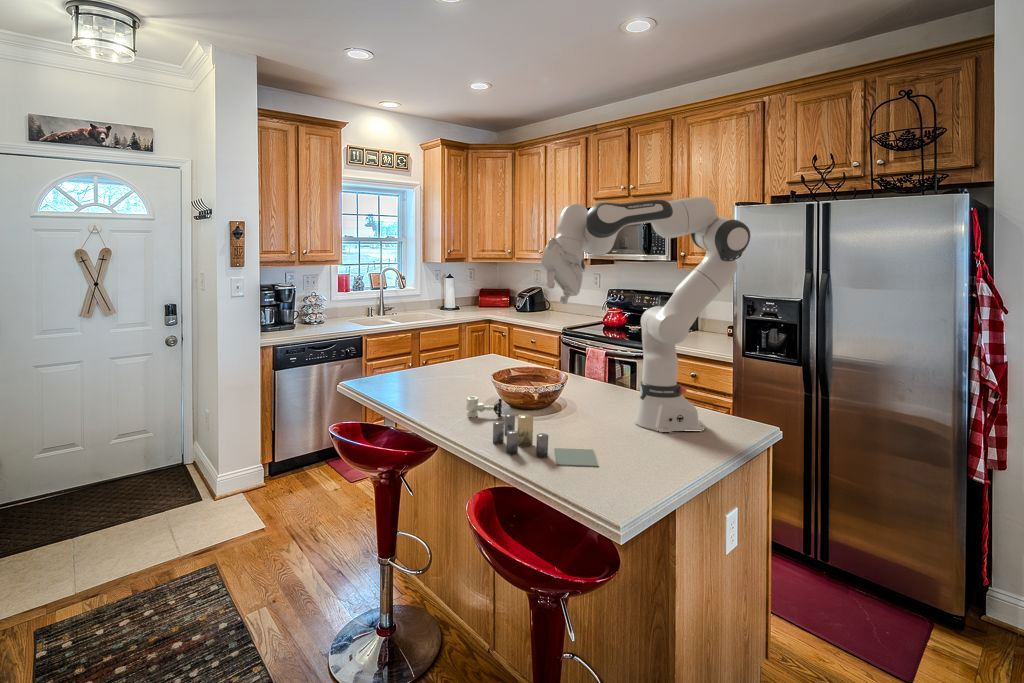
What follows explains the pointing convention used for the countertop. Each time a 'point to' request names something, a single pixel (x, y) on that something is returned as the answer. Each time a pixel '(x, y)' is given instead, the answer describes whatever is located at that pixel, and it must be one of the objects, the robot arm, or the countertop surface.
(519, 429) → the gold metal cylinder
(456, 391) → the countertop surface
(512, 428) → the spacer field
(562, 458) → the mat
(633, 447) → the countertop surface
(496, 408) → the valve
